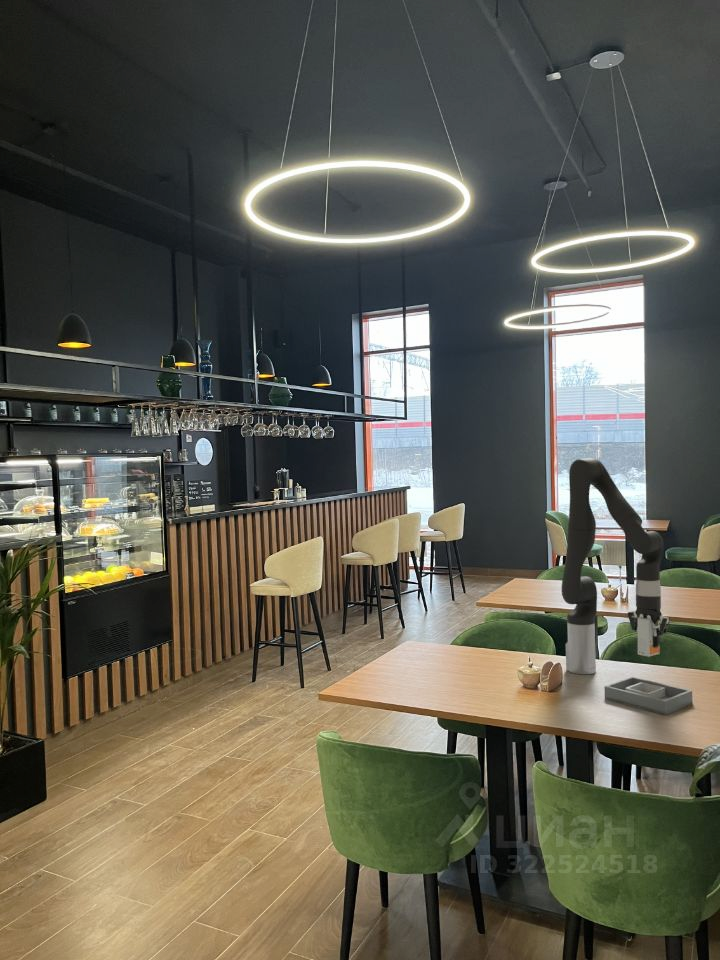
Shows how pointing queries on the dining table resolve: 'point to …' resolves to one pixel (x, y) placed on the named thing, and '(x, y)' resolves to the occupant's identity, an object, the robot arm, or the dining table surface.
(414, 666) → the dining table surface
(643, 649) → the skincare box
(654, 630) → the robot arm
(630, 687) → the walled box
